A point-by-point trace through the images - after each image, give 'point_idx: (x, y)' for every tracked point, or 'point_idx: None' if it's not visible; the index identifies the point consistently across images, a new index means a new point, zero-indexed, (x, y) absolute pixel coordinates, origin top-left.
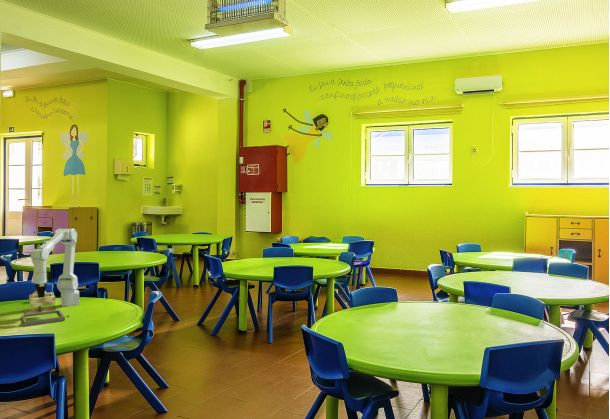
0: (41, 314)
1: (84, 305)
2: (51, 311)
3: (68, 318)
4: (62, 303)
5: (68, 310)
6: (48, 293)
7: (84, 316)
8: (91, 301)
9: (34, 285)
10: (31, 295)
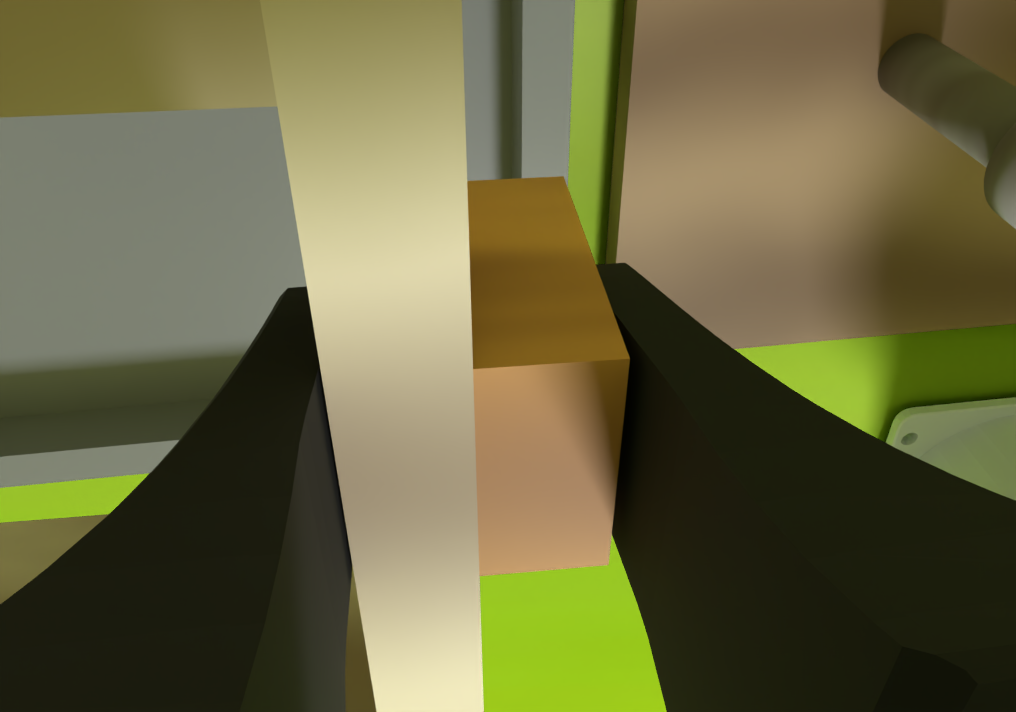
0: (514, 84)
1: None
2: None
3: (48, 489)
4: (1004, 471)
5: None
6: (371, 671)
7: None
8: None
9: (918, 666)
10: (158, 50)
